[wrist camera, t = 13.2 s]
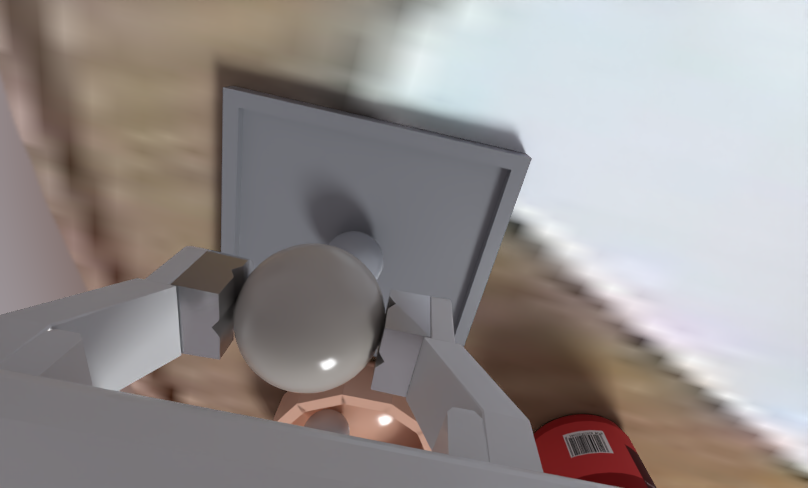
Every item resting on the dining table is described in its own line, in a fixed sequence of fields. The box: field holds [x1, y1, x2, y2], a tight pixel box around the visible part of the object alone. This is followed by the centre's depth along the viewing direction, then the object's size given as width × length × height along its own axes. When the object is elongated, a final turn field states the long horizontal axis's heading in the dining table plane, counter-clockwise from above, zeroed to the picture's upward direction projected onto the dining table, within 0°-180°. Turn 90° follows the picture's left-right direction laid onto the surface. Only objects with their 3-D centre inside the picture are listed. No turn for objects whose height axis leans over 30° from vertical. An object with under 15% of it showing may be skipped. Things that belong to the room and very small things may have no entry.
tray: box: [221, 86, 532, 357], centre depth 23 cm, size 15×16×1 cm
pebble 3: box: [328, 231, 384, 280], centre depth 22 cm, size 3×3×3 cm
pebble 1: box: [234, 243, 385, 393], centre depth 9 cm, size 3×3×3 cm
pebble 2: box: [304, 409, 350, 435], centre depth 28 cm, size 3×3×3 cm
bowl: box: [273, 361, 432, 451], centre depth 29 cm, size 12×12×4 cm
